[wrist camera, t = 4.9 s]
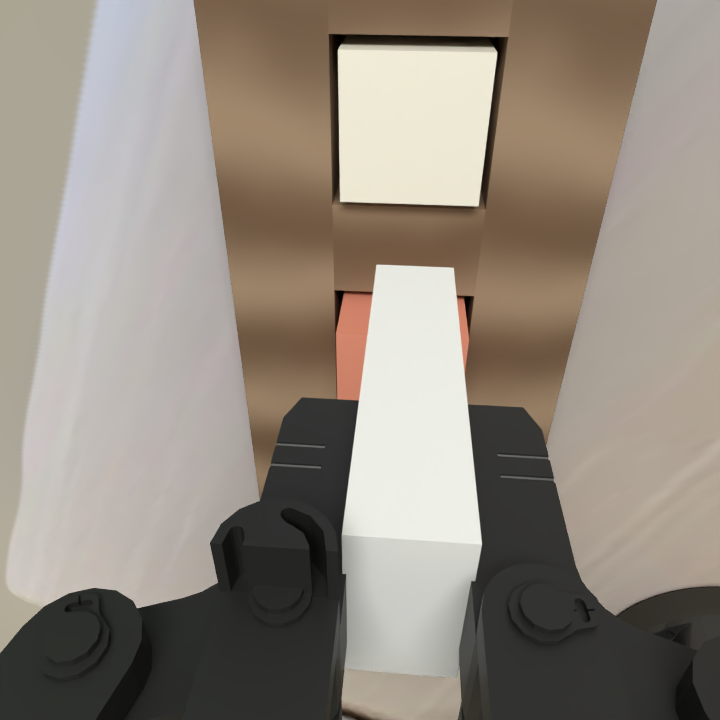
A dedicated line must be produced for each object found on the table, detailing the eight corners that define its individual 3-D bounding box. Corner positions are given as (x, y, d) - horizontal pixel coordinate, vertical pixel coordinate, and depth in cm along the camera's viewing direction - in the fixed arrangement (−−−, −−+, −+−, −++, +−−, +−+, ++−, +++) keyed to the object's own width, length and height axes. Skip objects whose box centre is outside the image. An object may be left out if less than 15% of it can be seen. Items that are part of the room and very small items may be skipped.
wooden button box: (505, 508, 43) (515, 569, 39) (280, 494, 44) (266, 552, 40) (628, -62, 24) (671, -58, 20) (223, -65, 25) (185, -62, 21)
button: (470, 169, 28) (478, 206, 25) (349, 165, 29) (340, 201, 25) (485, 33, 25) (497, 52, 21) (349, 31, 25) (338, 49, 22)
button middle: (452, 380, 32) (456, 438, 29) (346, 375, 33) (338, 431, 29) (462, 287, 29) (469, 339, 26) (346, 282, 30) (335, 333, 26)
